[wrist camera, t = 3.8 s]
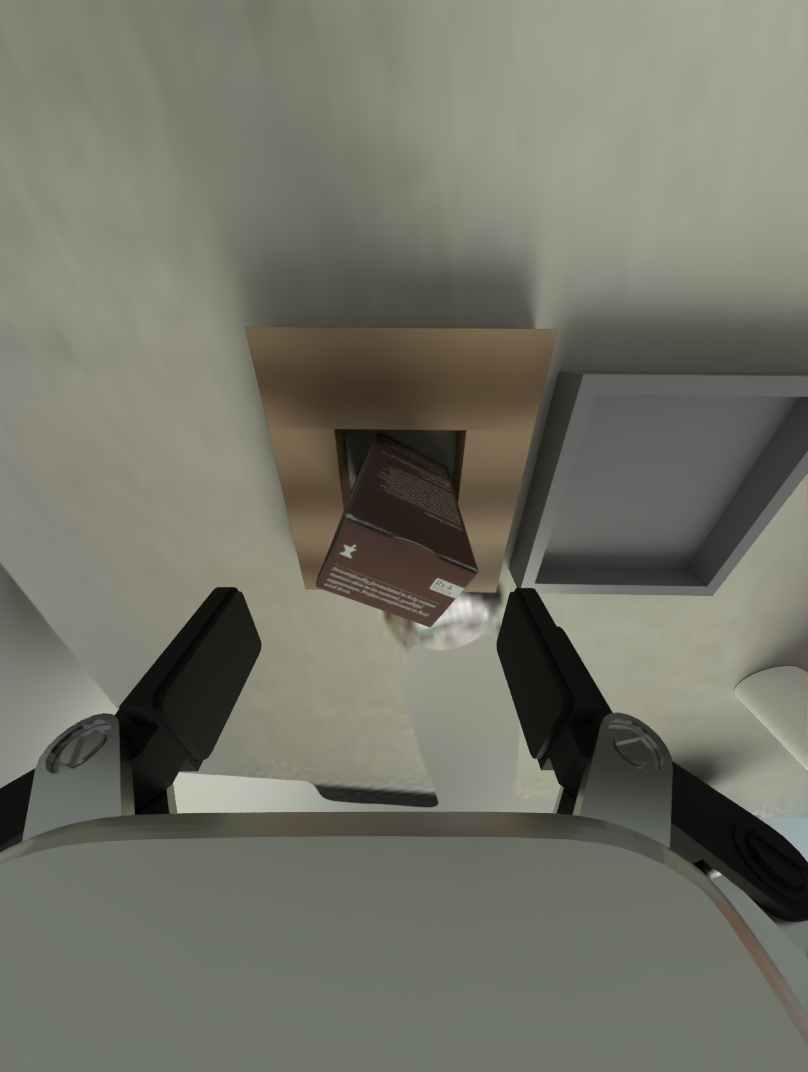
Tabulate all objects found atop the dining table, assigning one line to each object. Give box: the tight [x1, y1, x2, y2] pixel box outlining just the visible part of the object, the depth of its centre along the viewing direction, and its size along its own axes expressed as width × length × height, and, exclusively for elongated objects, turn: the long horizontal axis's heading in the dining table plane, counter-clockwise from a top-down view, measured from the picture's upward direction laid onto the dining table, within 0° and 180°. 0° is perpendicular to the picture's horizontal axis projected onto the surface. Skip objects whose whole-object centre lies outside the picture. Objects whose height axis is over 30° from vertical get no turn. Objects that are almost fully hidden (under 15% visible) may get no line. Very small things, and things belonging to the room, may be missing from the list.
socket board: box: [245, 327, 557, 592], centre depth 21 cm, size 18×16×3 cm
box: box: [316, 432, 479, 627], centre depth 17 cm, size 6×4×12 cm
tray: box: [509, 372, 808, 596], centre depth 21 cm, size 16×16×3 cm
